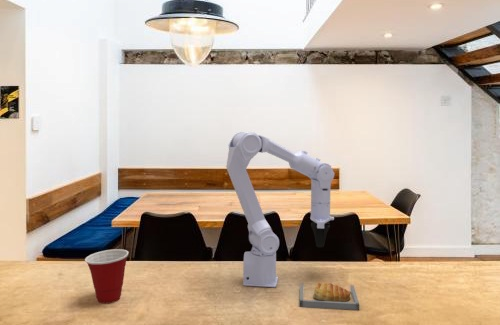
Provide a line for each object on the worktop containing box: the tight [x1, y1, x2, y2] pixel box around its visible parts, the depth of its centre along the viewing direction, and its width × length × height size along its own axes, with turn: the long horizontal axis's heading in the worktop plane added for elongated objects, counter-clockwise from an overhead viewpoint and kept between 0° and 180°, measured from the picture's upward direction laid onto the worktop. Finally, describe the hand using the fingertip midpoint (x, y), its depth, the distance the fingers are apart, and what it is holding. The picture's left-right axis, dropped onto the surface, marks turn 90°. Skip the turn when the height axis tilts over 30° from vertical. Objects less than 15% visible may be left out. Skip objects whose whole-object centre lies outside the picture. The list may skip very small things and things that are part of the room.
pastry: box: [313, 281, 351, 302], centre depth 110 cm, size 9×7×4 cm
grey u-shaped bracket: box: [299, 282, 360, 311], centre depth 110 cm, size 15×13×2 cm
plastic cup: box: [84, 248, 129, 304], centre depth 108 cm, size 11×11×12 cm
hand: (320, 246), depth 126 cm, fingers closed
